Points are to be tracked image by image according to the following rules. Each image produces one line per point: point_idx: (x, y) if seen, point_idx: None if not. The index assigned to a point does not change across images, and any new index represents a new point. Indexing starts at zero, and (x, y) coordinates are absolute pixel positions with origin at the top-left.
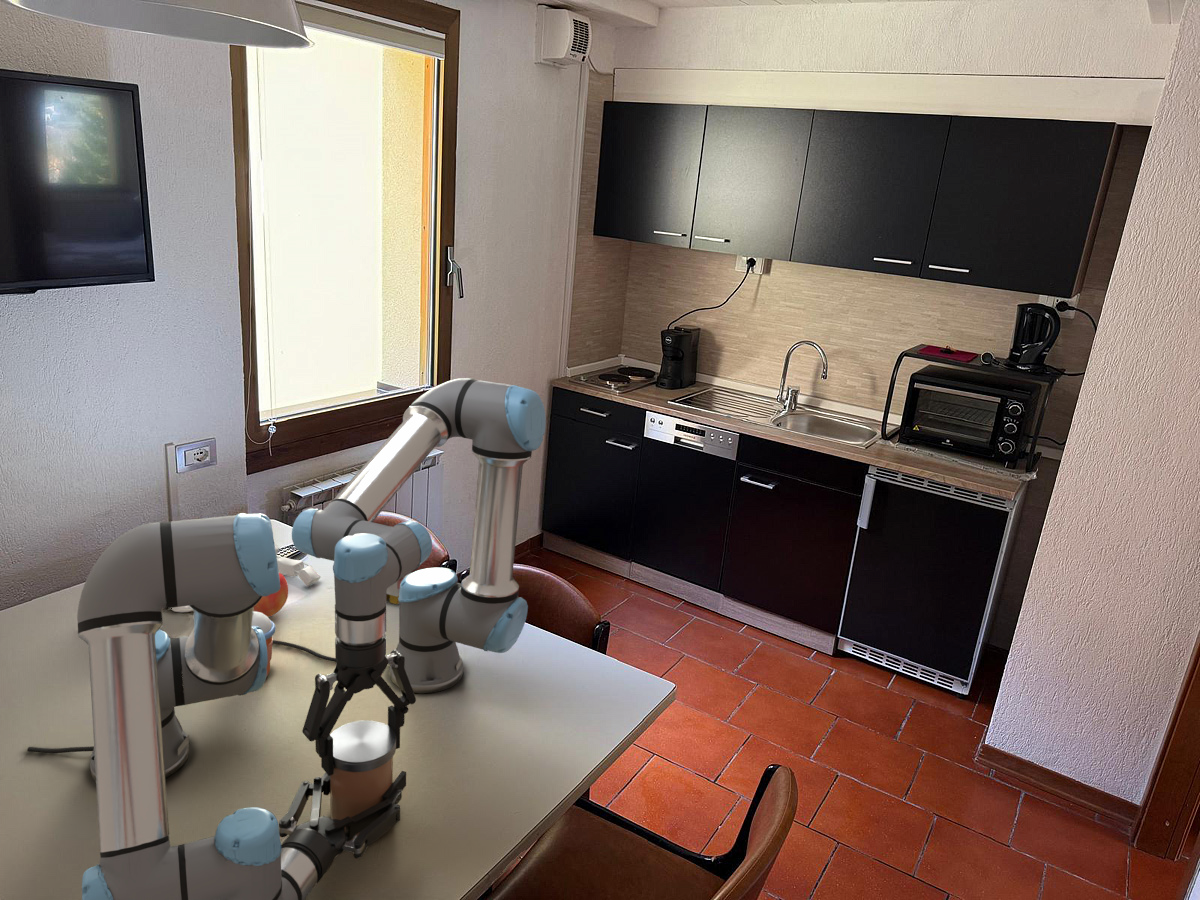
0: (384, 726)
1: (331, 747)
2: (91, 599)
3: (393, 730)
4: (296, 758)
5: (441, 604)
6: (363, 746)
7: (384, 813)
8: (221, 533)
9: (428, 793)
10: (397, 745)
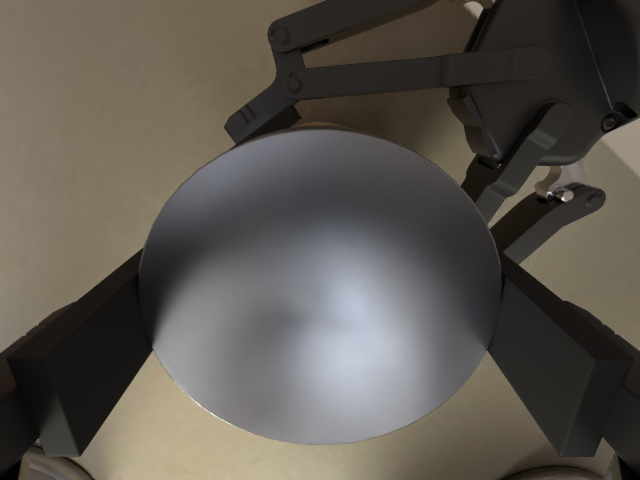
0: (171, 350)
1: (559, 314)
2: None
3: (138, 301)
4: None
5: None
6: (335, 269)
7: (333, 29)
8: None
9: (150, 186)
10: None
